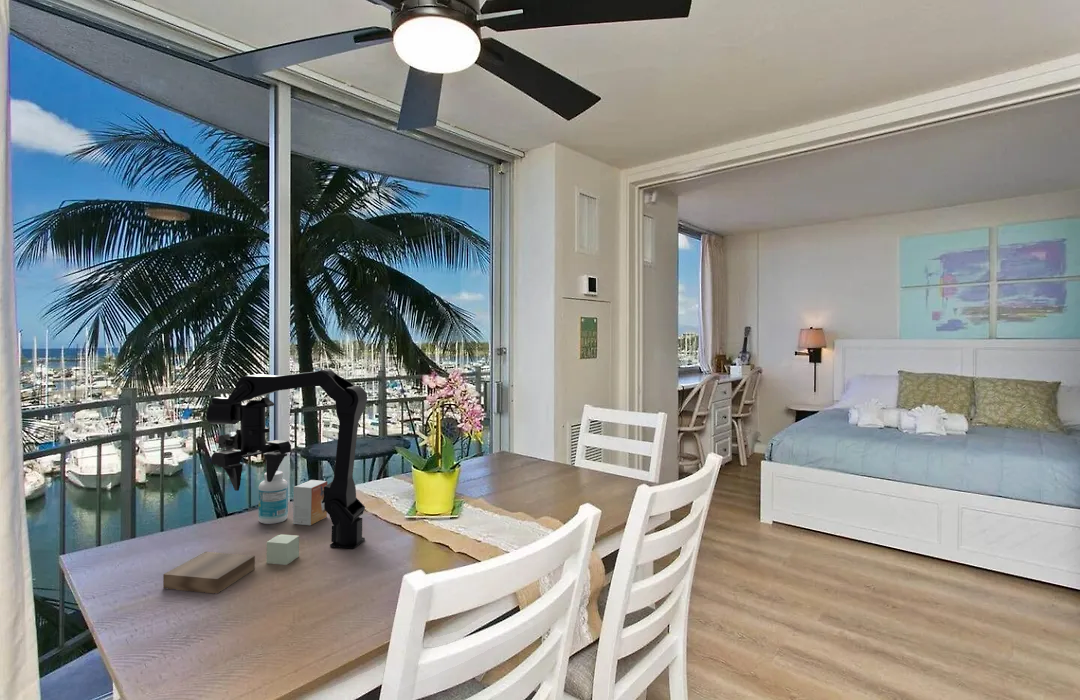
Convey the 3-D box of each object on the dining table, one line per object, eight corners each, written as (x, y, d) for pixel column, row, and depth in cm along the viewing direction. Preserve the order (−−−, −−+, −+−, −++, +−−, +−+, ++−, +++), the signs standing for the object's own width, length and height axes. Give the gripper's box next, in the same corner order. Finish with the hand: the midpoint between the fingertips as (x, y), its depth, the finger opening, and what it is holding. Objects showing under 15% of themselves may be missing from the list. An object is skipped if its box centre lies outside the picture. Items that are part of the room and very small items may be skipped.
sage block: (298, 556, 132) (299, 535, 132) (286, 565, 127) (287, 543, 127) (279, 555, 133) (279, 534, 133) (266, 563, 128) (266, 542, 128)
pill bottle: (264, 516, 160) (265, 469, 159) (291, 516, 160) (292, 469, 160) (253, 525, 152) (254, 475, 152) (281, 524, 153) (282, 476, 152)
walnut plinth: (254, 569, 124) (254, 555, 124) (217, 593, 113) (217, 579, 112) (205, 564, 126) (205, 551, 126) (163, 588, 114) (163, 574, 114)
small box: (310, 526, 152) (311, 488, 152) (292, 524, 153) (293, 486, 153) (327, 517, 160) (328, 480, 160) (310, 515, 161) (310, 479, 161)
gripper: (263, 417, 152) (264, 474, 153) (196, 427, 135) (196, 491, 136) (292, 420, 148) (292, 478, 148) (226, 431, 131) (226, 497, 131)
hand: (253, 486), depth 141 cm, fingers open, 9 cm apart
